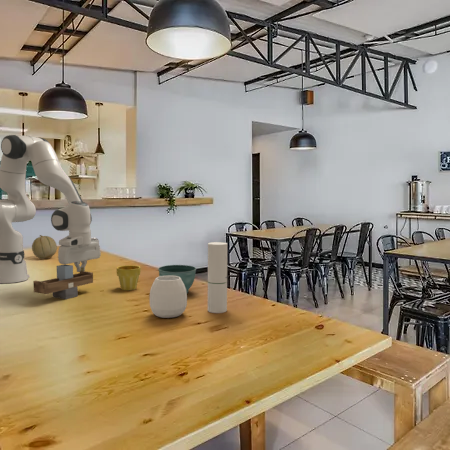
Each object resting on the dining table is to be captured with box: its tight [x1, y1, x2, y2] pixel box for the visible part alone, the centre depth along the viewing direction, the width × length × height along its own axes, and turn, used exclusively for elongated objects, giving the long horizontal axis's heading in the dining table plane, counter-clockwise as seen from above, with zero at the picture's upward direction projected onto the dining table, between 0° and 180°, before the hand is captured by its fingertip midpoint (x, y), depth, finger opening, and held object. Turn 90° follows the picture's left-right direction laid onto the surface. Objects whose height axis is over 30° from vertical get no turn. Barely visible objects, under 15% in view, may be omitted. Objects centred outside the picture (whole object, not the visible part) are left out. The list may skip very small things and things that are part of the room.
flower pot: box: [157, 264, 197, 294], centre depth 182 cm, size 16×16×11 cm
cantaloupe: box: [31, 234, 58, 260], centre depth 266 cm, size 15×15×15 cm
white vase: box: [149, 275, 188, 319], centre depth 149 cm, size 13×13×14 cm
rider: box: [56, 264, 74, 281], centre depth 173 cm, size 5×4×7 cm
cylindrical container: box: [207, 241, 228, 314], centre depth 155 cm, size 7×7×25 cm
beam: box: [32, 270, 94, 300], centre depth 174 cm, size 8×24×8 cm, turn 151°
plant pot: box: [116, 264, 141, 291], centre depth 188 cm, size 10×10×10 cm
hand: (80, 271), depth 181 cm, fingers closed
